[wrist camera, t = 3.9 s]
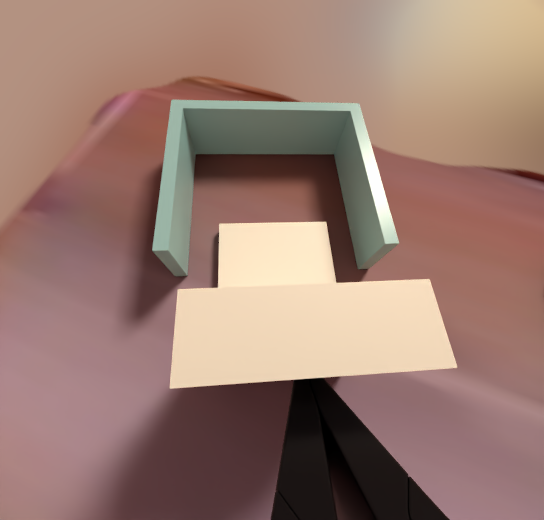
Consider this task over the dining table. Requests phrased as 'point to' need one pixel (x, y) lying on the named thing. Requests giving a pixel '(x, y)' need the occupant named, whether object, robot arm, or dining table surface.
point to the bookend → (299, 315)
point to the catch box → (271, 140)
